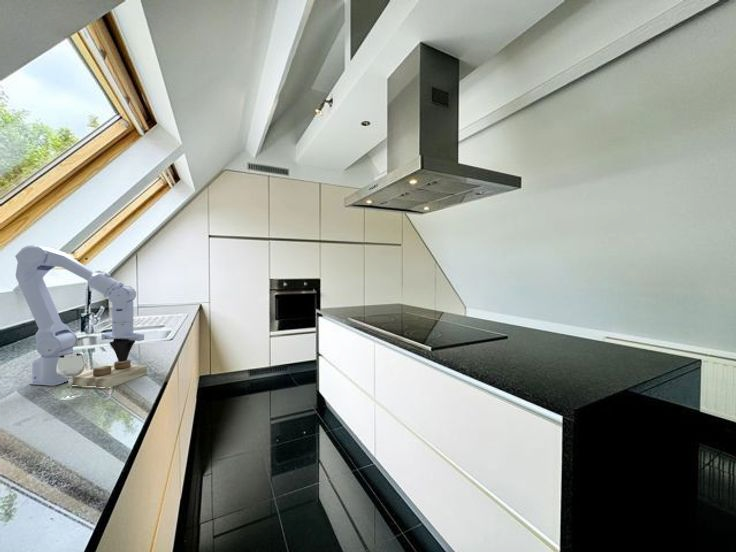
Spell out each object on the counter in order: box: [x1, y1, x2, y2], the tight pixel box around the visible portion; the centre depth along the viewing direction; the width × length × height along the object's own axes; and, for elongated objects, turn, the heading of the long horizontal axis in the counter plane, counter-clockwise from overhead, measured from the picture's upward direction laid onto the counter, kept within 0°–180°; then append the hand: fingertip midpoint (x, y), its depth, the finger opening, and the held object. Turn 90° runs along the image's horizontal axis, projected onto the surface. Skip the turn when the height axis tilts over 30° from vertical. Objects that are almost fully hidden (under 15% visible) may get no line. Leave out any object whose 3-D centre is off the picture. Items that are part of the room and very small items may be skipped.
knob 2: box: [113, 359, 132, 369], centre depth 104 cm, size 4×4×5 cm
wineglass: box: [56, 352, 86, 398], centre depth 87 cm, size 6×6×12 cm
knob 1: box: [92, 364, 111, 376], centre depth 97 cm, size 4×4×5 cm
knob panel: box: [72, 363, 148, 389], centre depth 101 cm, size 14×14×3 cm
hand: (122, 360), depth 104 cm, fingers closed, pressing on knob 2
